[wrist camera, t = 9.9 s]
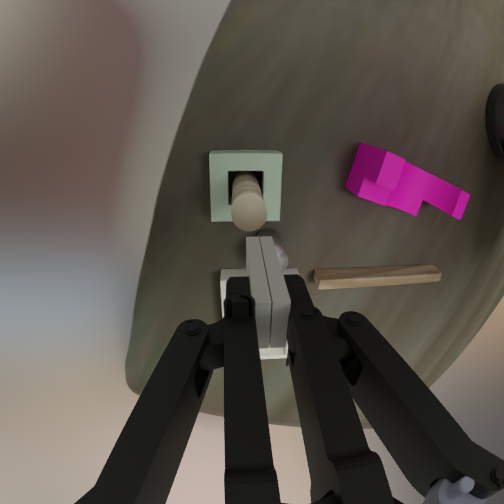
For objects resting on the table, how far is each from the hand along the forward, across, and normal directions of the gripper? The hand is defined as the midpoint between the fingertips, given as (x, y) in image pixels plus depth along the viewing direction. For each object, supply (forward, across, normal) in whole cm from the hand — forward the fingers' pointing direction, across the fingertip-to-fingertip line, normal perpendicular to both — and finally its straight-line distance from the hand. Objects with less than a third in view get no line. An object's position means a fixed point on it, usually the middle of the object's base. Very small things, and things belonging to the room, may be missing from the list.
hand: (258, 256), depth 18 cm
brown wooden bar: (+19, +21, -13) cm, 31 cm away
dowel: (+19, 0, 0) cm, 19 cm away
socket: (+19, 0, 0) cm, 19 cm away
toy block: (+19, +21, +1) cm, 28 cm away
